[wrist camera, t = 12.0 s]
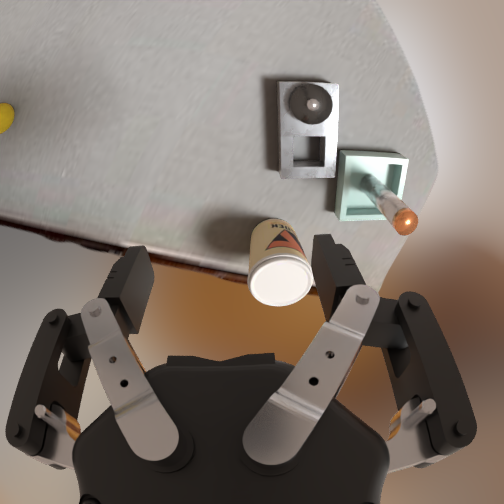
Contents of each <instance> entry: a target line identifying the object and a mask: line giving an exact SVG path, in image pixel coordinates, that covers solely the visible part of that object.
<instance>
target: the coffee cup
mask: <svg viewBox="0 0 504 504" xmlns="http://www.w3.org/2000/svg"><path fill="white" fill-rule="evenodd" d="M312 282H313V274H312V269H311V267H310V265H309V263H308V261H307V258H306V256H305V254H304V251H303V249H302V247H301V244H300V242H299V240H298V238H297V235H296V233H295V231H294V229H293V228H292V226H291V225H290V224H289V223H287V222H286V221H284V220H281V219H268V220H265V221H263V222H261V223H260V224H258V225H257V226H256V227H255V228H254V230H253V232H252V235H251V243H250V258H249V275H248V287H249V290H250V292H251V293H252V294H253V296H254V297H255V298H256V299H257V300H258V301H260V302H262V303H264V304H267V305H271V306H285V305H289V304H292V303H295V302H297V301H299V300H300V299H302V298H303V297H304V296H305V295H306V294H307V293H308V291H309V290H310V288H311V285H312Z"/></svg>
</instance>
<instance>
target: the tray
mask: <svg viewBox="0 0 504 504" xmlns="http://www.w3.org/2000/svg"><path fill="white" fill-rule="evenodd" d="M407 166H408V159H407V158H406V157H404V156H403V155H401V154H400V153H388V152H373V151H354V150H340V151H339V166H338V179H337V190H336V201H335V210H334V213H335V214H336V216H337V218H338V220H339V221H358V220H387V219H386V218H385V216H384V215H383V214H382V213H381V212H380V211H379V209H378V208H377V207H376V206H375V205H374V204H373V203H372V202H371V200H370V199H369V198H368V197H367V196H366V195H365V194H364V193H363V192H362V190H361V189H360V181H361V179H362V178H363V177H364V176H366V175H369V174H371V175H374V176H375V177H376V178H378V179H379V180H380V181H381V182H382V183H383V184H384V185H385V186H387V187H388V188H389V189H390V190H391V191H392V192H393V193H394V194H395V195H396V196H397V197H398V198H399V199H402V194H403V189H404V184H405V178H406V172H407Z"/></svg>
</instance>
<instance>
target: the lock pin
mask: <svg viewBox="0 0 504 504" xmlns="http://www.w3.org/2000/svg"><path fill="white" fill-rule="evenodd" d="M360 189H361V190H362V192H363V193H364V194H365V195H366V196H367V197H368V198H369V199H370V200H371V202H372V203H373V204H374V205H375V206H376V207H377V208H378V209H379V211H380V212H381V213H382V214H383V215H384V216H385V218H386V219H387V220H388V221H389V222H390V223H391V225H392V226H393V227H394V228H395V230H396V231H397V232H398V233H399V234H400V235H409V234H410V233H412V232H413V231H414V230H415V229H416V227H417V224H418V217H417V215H416V214H415V213H414V212H413V211H412V210H411V209H410V208H409V207H408V206H407V205H406V204H405V203H404V202H403V201H402V200H401V199H399V198H398V197H397V196H396V195H395V194H394V193H393V192H392V191H391V190H390V189H389V188H388V187H387V186H385V185H384V184H383V183H382V182H381V181H380V180H379V179H378V178H376V177H375V176H374V175H371V174H369V175H366V176H364V177H363V178H362V179H361V181H360Z"/></svg>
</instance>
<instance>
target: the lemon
mask: <svg viewBox="0 0 504 504" xmlns="http://www.w3.org/2000/svg"><path fill="white" fill-rule="evenodd" d="M13 120H14V110H13V107H12V106H11V105H9V104H7V103H1V104H0V134H1V133H3V132H5V131H6V130H7V129H8V128H9V127H10V126H11V124H12V123H13Z"/></svg>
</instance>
